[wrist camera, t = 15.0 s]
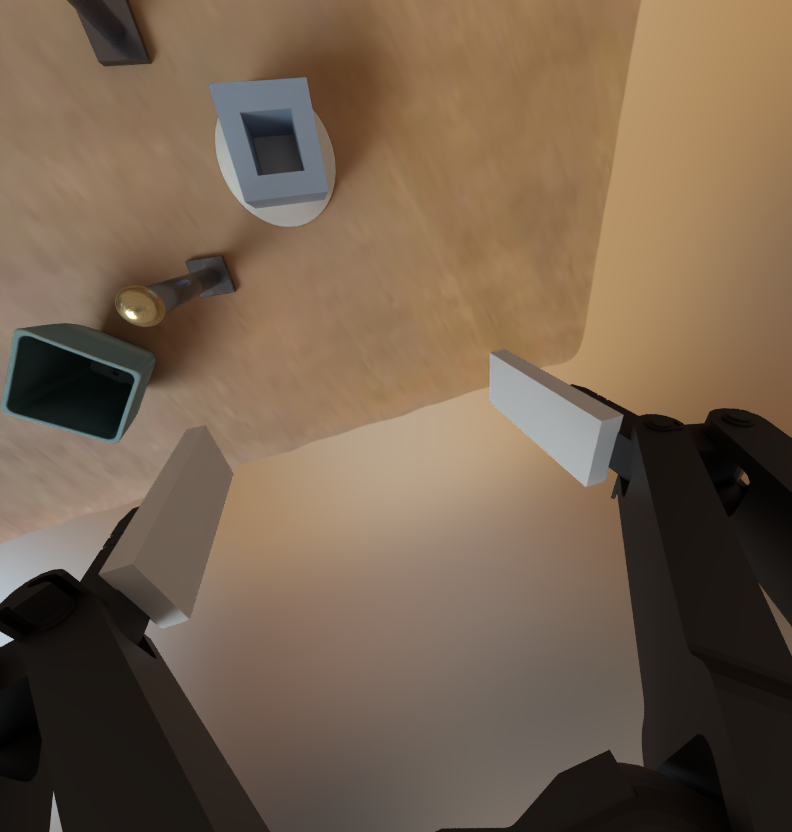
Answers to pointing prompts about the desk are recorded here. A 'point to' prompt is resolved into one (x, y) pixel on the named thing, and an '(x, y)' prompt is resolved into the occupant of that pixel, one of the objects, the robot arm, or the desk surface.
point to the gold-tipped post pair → (146, 306)
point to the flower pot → (76, 380)
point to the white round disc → (275, 159)
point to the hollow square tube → (271, 116)
